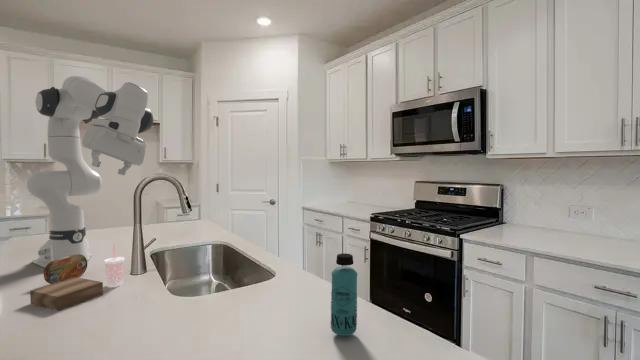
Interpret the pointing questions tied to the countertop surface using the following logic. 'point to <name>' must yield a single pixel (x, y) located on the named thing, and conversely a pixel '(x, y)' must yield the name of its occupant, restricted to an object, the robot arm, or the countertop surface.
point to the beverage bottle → (344, 297)
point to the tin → (65, 268)
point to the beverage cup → (114, 270)
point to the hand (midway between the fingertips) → (108, 170)
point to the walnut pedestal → (66, 293)
